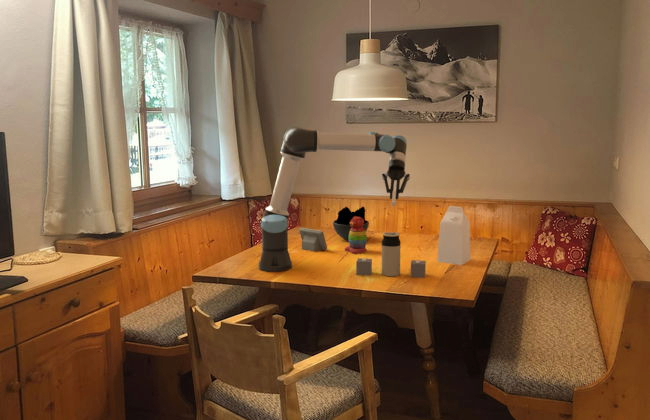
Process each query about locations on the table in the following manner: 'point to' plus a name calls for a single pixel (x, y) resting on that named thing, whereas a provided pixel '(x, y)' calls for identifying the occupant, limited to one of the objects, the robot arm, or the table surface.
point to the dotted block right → (418, 268)
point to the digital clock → (313, 239)
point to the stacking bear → (357, 236)
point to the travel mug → (391, 254)
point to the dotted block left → (363, 266)
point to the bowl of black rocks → (348, 221)
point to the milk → (454, 237)
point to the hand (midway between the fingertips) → (393, 204)
